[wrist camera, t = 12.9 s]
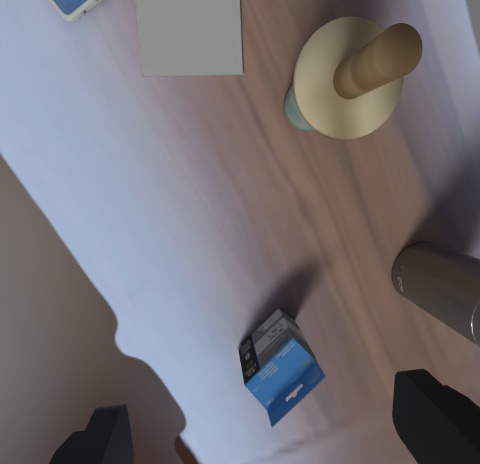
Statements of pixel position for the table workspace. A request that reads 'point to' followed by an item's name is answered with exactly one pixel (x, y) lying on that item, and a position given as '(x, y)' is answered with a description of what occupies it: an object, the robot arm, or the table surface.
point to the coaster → (189, 37)
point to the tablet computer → (73, 8)
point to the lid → (353, 75)
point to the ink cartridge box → (278, 364)
